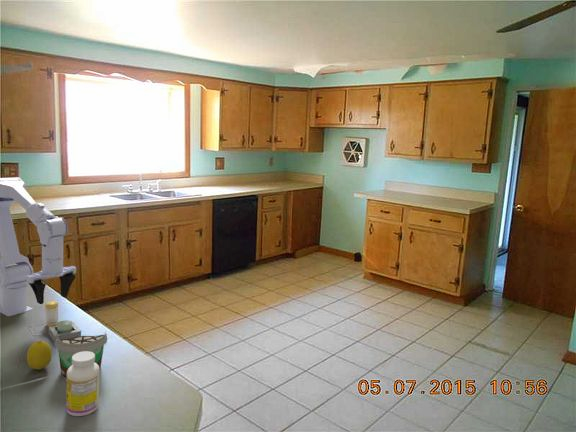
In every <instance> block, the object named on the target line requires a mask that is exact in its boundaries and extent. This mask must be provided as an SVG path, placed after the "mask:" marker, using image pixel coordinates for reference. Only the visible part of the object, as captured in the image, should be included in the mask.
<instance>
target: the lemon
mask: <svg viewBox="0 0 576 432" xmlns="http://www.w3.org/2000/svg"><path fill="white" fill-rule="evenodd" d="M52 355H53V353H52V348H51V345H50V344H49V343H48V342H46V341H43V340H38V341H36V342H34V343H32V344H31V345H30V346H29V348H28V349H27V353H26V361H27V365H28V366H29V367H30V368H31V369H33V370H37V371H41V370H42V369H44V368H45V367H47V366H48V365H49V364H50V362H51V361H52V358H53V357H52Z"/></svg>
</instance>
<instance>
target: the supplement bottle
mask: <svg viewBox="0 0 576 432" xmlns="http://www.w3.org/2000/svg"><path fill="white" fill-rule="evenodd" d="M94 361H95V354H94V353H93V352H90V351H83V352H78V353H76V354H74V355H73V356H72V366H70V367H69V369H68V370H67V378H66V388H65V389H66V392H65V393H66V394H65V395H66V398H65V399H66V400H65V401H66V402H65V403H66V404H65V407H66V408H65V409H66V412H67V413H68V415H70V416H73V417H84V416H88V415H91V414H92V413H93V412H95V411H96V410H97V409H98V407H99V405H100V403H99V401H100V400H99V399H100V371H99V366H98V364H96V363H95V362H94Z"/></svg>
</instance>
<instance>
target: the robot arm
mask: <svg viewBox="0 0 576 432" xmlns="http://www.w3.org/2000/svg"><path fill="white" fill-rule="evenodd" d="M15 203H17V204H18V205H19V206H20V207H22V208H23V209H24V210H25V216H26V217H27V218H28V219H29V220H30V222H31V223H32V224H33V225H34V226H35V227H36V231H37V233H38V234H37V235H38V236H39V242H40V244H41V270H40V271H37V272H34V268H33V266H32V265H31V263H30V260H29V257H26V256H24V255H23V254H21V253H20V249H19V244H18V239H17V235H16V229H15V227H14V223H13V218H12V214H11V210H10V209H11V206H12V205H13V204H15ZM68 231H69V225H68V223H67V221H66V220H65V218H64V217H63V216H62V217H61V216H60V217H59V216H55V214H53V212H52V211H50V210H49V209H48V208H47V206H45V204H44V203H42V202H36V201H35V200H34V198H33V197H32V196H31V195H30V194H29V192H28V191H27V190H26V183H25V181H23V180H22V179H21V177H18V176H14V177H0V313H1V314H3V315H5V316H7V317H11V316H15V315H19V314H22V313H26V312H29V311H33V310H34V309H33V307H31V306H28V285H29V286H30V287H31V289H32V291H33V293H34V296H35V299H36V303H37V304H39V305H43V304H44V302H45V301H44V299H45V295H44V294H45V289H46V285H47V284H46V283H44V280H48V279H52V278H53V279H54V278H58V279H59V283H60V297H63V298H68V295H69V291H70V288H71V286H72V284H73V282H74V281H75V279H76V275H75V274H77V267H76V266H74V265H71V266H64V237H65V236H66V235H67V234H68Z"/></svg>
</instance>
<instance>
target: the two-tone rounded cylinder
mask: <svg viewBox="0 0 576 432" xmlns="http://www.w3.org/2000/svg"><path fill="white" fill-rule="evenodd" d="M44 307H45V323H46V324H45V325H46V327H47V328H49V327H51V326H56V325H57V323H58V322H59V302H58V301H55V300H53V301H48V302H46V303H45V304H44Z"/></svg>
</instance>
